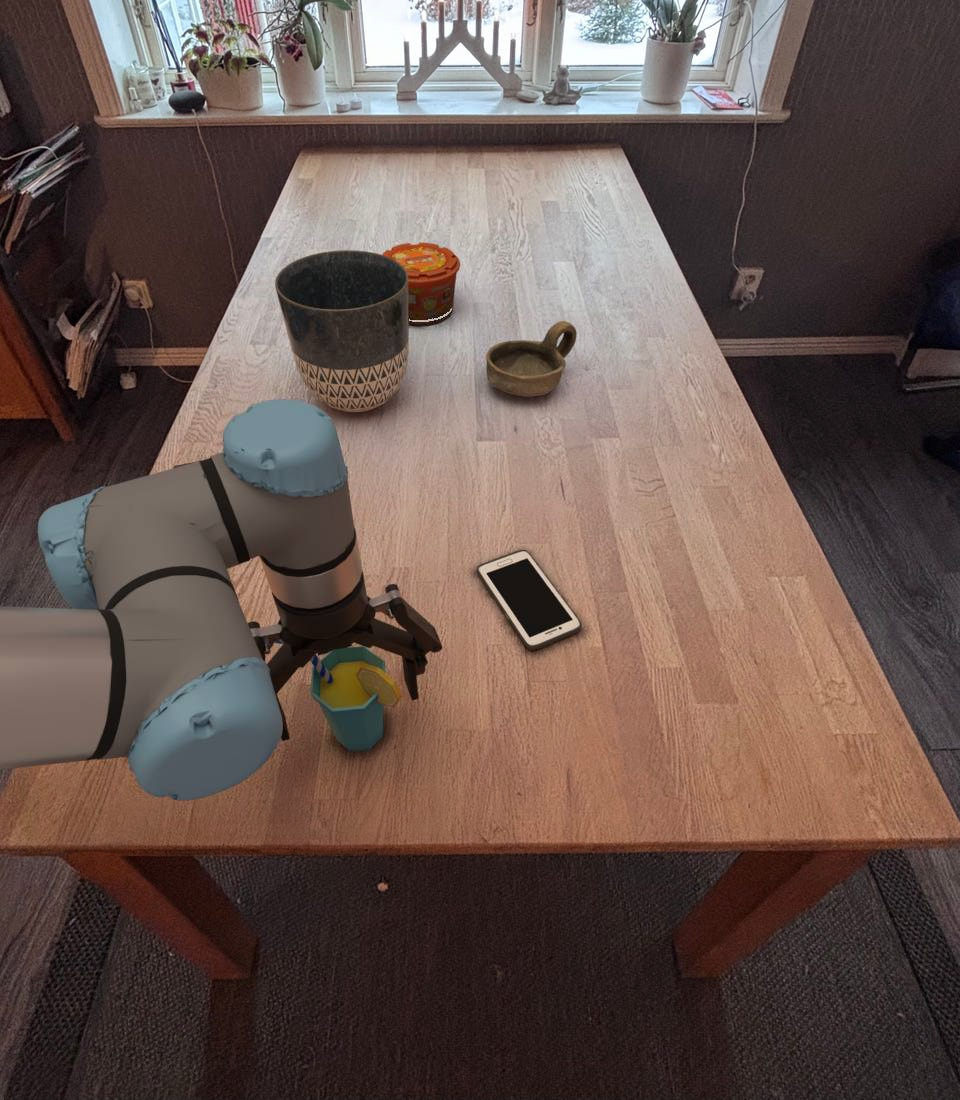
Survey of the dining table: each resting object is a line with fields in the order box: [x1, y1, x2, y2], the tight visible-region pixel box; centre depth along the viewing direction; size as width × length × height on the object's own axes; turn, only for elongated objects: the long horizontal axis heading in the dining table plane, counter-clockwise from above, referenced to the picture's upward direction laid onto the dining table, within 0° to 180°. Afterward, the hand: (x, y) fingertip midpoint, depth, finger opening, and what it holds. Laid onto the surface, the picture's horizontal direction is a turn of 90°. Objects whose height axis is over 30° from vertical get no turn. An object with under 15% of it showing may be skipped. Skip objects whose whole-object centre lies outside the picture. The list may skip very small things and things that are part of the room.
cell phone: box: [476, 549, 582, 651], centre depth 86 cm, size 8×15×1 cm, turn 27°
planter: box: [274, 249, 410, 413], centre depth 108 cm, size 20×20×21 cm
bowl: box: [485, 320, 577, 397], centre depth 117 cm, size 14×18×10 cm
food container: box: [381, 242, 461, 327], centre depth 134 cm, size 16×16×11 cm
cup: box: [274, 639, 403, 752], centre depth 68 cm, size 14×8×15 cm, turn 74°
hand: (349, 708), depth 71 cm, fingers open, 13 cm apart
